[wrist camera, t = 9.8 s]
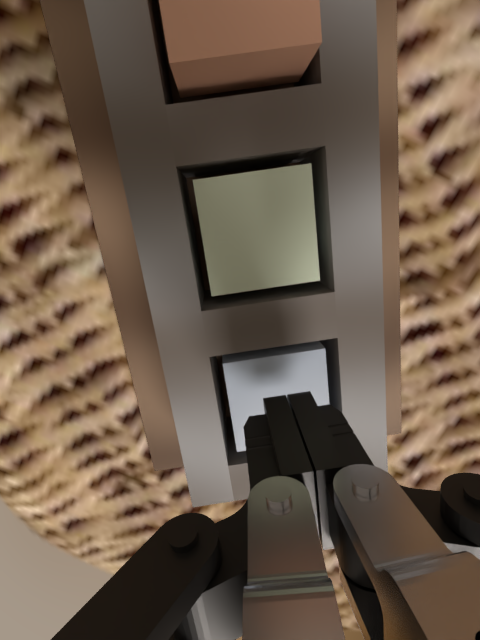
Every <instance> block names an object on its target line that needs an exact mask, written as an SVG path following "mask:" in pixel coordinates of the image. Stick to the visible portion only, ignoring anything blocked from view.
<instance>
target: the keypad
mask: <svg viewBox="0 0 480 640" xmlns="http://www.w3.org/2000/svg"><path fill="white" fill-rule="evenodd" d="M40 3H41V7H42V11H43V15H44V20H45V24H46V28H47V32H48V36H49V40H50V44H51V48H52V52H53V56H54V61H55V65H56V69H57V73H58V77H59V81H60V85H61V89H62V93H63V97H64V102H65V106H66V110H67V114H68V118H69V122H70V126H71V130H72V134H73V138H74V142H75V147H76V151H77V155H78V159H79V163H80V167H81V171H82V175H83V179H84V183H85V188H86V192H87V196H88V200H89V204H90V208H91V212H92V216H93V220H94V224H95V229H96V233H97V237H98V241H99V245H100V249H101V253H102V257H103V261H104V265H105V270H106V274H107V278H108V282H109V286H110V290H111V294H112V298H113V302H114V306H115V311H116V315H117V319H118V323H119V327H120V331H121V335H122V339H123V343H124V347H125V352H126V356H127V360H128V364H129V368H130V372H131V376H132V380H133V384H134V388H135V393H136V397H137V401H138V405H139V409H140V413H141V417H142V421H143V425H144V429H145V434H146V438H147V442H148V446H149V450H150V454H151V458H152V462H153V466H154V470H155V471H158V470H164V469H171V468H177V467H184V468H185V473H186V478H187V482H188V487H189V492H190V496H191V501H192V506H193V507H197V506H204V505H210V504H217V503H223V502H230V501H236V500H242V499H248V496H249V493H250V482H249V473H248V464H247V455H246V451H240V452H237V449H236V443H235V437H234V430H233V424H232V418H231V412H230V406H229V400H228V394H227V388H226V382H225V375H224V369H223V360H222V355H226V354H232V353H239V352H246V351H253V350H259V349H266V348H273V347H279V346H286V345H293V344H299V343H306V342H313V341H320V342H321V344H322V345H323V346H324V347H325V351H326V364H327V378H328V391H329V404H330V405H332V406H333V407H335V408H336V409H338V410H339V411H341V412H342V413H343V415H344V417H345V418H346V420H347V422H348V424H349V425H350V427H351V428H352V430H353V431H354V434H355V435H356V436H357V438H358V440H359V441H360V443H361V445H362V446H363V448H364V450H365V451H366V453H367V455H368V456H369V458H370V459H371V461H372V463H373V464H374V466H376V467H378V468H381V469H383V470H385V471H386V472H388V466H387V435H392V434H399V433H401V356H400V267H399V177H398V88H397V0H320V17H321V33H322V43H321V45H320V47H319V48H318V50H317V52H316V53H315V55H314V57H313V58H312V60H311V62H310V63H309V65H308V67H307V68H306V70H305V72H304V73H303V75H302V77H301V78H300V80H299V82H292V83H285V84H278V85H270V86H263V87H256V88H249V89H241V90H234V91H227V92H220V93H213V94H205V95H198V96H191V97H184V98H180V95H179V91H178V88H177V85H176V82H175V79H174V76H173V73H172V70H171V67H170V64H169V59H168V53H167V47H166V41H165V35H164V29H163V23H162V17H161V11H160V5H159V0H40ZM309 163H311V165H312V179H313V192H314V206H315V219H316V232H317V246H318V259H319V273H320V281H314V282H307V283H300V284H293V285H286V286H279V287H273V288H266V289H259V290H252V291H245V292H239V293H232V294H225V295H218V296H211V290H210V283H209V277H208V271H207V265H206V259H205V253H204V247H203V241H202V234H201V228H200V222H199V216H198V210H197V204H196V198H195V192H194V186H193V180H196V179H203V178H210V177H217V176H224V175H231V174H238V173H245V172H252V171H259V170H266V169H273V168H280V167H287V166H294V165H302V164H309Z"/></svg>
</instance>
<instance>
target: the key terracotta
mask: <svg viewBox="0 0 480 640" xmlns="http://www.w3.org/2000/svg"><path fill="white" fill-rule="evenodd" d="M159 5H160V11H161V17H162V23H163V29H164V35H165V41H166V47H167V53H168V59H169V64H170V67H171V70H172V73H173V76H174V79H175V82H176V85H177V88H178V91H179V95H180V98H184V97H191V96H198V95H205V94H213V93H220V92H227V91H234V90H241V89H249V88H256V87H263V86H270V85H278V84H285V83H292V82H299V80H300V78H301V77H302V75H303V73H304V72H305V70H306V68H307V67H308V65H309V63H310V62H311V60H312V58H313V57H314V55H315V53H316V52H317V50H318V48H319V47H320V45H321V43H322V33H321V17H320V0H159Z"/></svg>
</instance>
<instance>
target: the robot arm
mask: <svg viewBox="0 0 480 640" xmlns="http://www.w3.org/2000/svg"><path fill="white" fill-rule="evenodd" d="M263 404H264V412H265V414H262V415H255V416H249V417H248V419H247V421H246V423H245V425H244V427H243V428H244V437H245V446H246V455H247V464H248V473H249V482H250V493H249V496H248V500H247V501H246V503H245V504H244V506H243V507H242V508H241V509H240V510H239V511H238V512H236V513H235V514H233V515H232V516H230V517H228V518H226V519H224V520H221V521H219V522H217V523H214V522H213V521H212V520H211V519H210V518H209V517H207V516H205V515H203V514H198V513H187V514H182V515H179V516H177V517H174V518H172V519H171V520H169V521H168V522H166V523H165V524H164V525H163V526H162V527H160V528H159V530H158V531H157V532H156V533H155V534H154V535H153V536H152V537H151V538H150V539H149V540H148V541H147V542H146V543H145V544H144V545H143V546H142V547H141V548H140V549H139V550H138V551H137V552H136V553H135V554H134V555H133V556H132V557H131V558H130V559H129V560H128V561H127V562H126V563H125V564H124V565H123V566H122V567H121V568H120V569H119V570H118V571H117V572H116V574H115V575H114V576H113V577H112V578H111V579H110V580H109V581H108V582H107V583H106V584H105V585H104V586H103V587H102V588H101V589H100V590H99V591H98V592H97V593H96V594H95V595H94V596H93V597H92V598H91V599H90V600H89V601H88V602H87V603H86V604H85V605H84V606H83V607H82V608H81V609H80V610H79V612H77V613H76V615H74V617H73V618H72V619H71V620H70V621H69V622H68V623H67V624H66V625H65V626H64V627H63V628H62V629H61V630H60V631H59V632H58V633H57V634H56V635H55V636H54V637H53V638H52V639H51V640H236V639H237V638H239V637H241V636H242V640H345V636H344V632H343V627H342V623H341V618H340V614H339V610H338V605H337V601H336V596H335V592H334V588H333V584H332V581H331V579H330V578H328V576H327V572H326V567H325V563H324V558H323V553H322V549H321V544H322V548H323V550H325V549H332V548H334V549H335V552H336V555H337V558H338V561H339V574H340V580H341V583H342V586H343V588H344V591H345V593H346V596H347V598H348V601H349V603H350V605H351V608H352V610H353V613H354V615H355V618H356V620H357V623H358V625H359V628H360V630H361V632H362V635H363V637H364V640H480V475H479V474H473V473H457V474H453V475H450V476H448V477H447V478H445V479H444V481H443V482H442V484H441V491H432V490H422V489H414V488H408V487H404V486H401V485H399V484H398V483H397V481H396V480H395V479H394V478H393V477H392V476H391V475H390V474H389V473H388V472H386V471H385V470H383V469H381V468H378V467H376V466H374V464H373V463H372V461H371V459H370V458H369V456H368V455H367V453H366V451H365V450H364V448H363V446H362V445H361V443H360V441H359V440H358V438H357V436H356V435H355V434H354V431H353V430H352V428H351V427H350V425H349V424H348V422H347V420H346V418H345V417H344V415H343V413H342V412H341V411H339V410H338V409H336V408H335V407H333V406H332V405H330V404H328V405H322V406H318V405H317V403H316V402H315V400H314V398H313V396H312V394H311V392H310V391H307V392H300V393H294V394H287V397H286V395H281V396H274V397H267V398H263ZM319 538H320V539H319ZM320 541H321V544H320Z"/></svg>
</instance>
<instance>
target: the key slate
mask: <svg viewBox="0 0 480 640" xmlns="http://www.w3.org/2000/svg"><path fill="white" fill-rule="evenodd" d="M222 360H223V369H224V375H225V382H226V388H227V394H228V400H229V406H230V412H231V418H232V424H233V430H234V437H235V443H236V449H237V452H240V451H246V446H245V437H244V428H243V427H244V425H245V423H246V421H247V419H248V417H249V416H255V415H262V414H265V412H264V404H263V398H267V397H274V396H281V395H286V397H287V394H294V393H300V392H307V391H310V392H311V394H312V396H313V398H314V400H315V402H316V403H317V405H318V406H322V405H328V404H329V391H328V378H327V364H326V351H325V347H324V346H323V345H322V344H321V342H320V341H313V342H306V343H299V344H293V345H286V346H279V347H273V348H266V349H259V350H253V351H246V352H239V353H232V354H226V355H222Z"/></svg>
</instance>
